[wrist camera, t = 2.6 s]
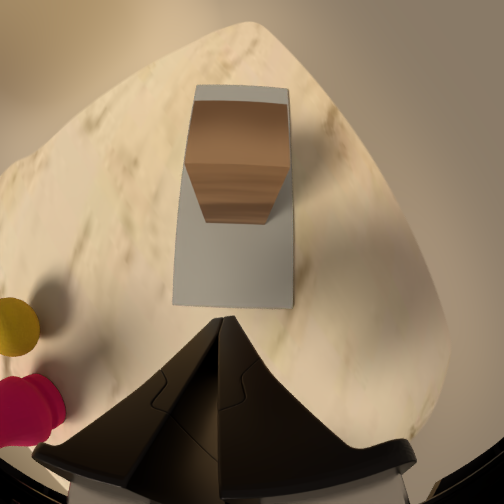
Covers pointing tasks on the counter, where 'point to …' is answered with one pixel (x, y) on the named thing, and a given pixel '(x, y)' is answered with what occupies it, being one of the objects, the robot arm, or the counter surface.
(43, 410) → the pepper mill
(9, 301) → the lemon
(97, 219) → the counter surface
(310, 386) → the counter surface
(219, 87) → the strip
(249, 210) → the walnut block
